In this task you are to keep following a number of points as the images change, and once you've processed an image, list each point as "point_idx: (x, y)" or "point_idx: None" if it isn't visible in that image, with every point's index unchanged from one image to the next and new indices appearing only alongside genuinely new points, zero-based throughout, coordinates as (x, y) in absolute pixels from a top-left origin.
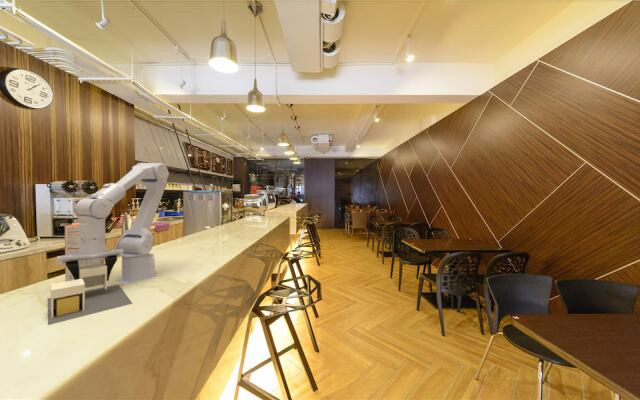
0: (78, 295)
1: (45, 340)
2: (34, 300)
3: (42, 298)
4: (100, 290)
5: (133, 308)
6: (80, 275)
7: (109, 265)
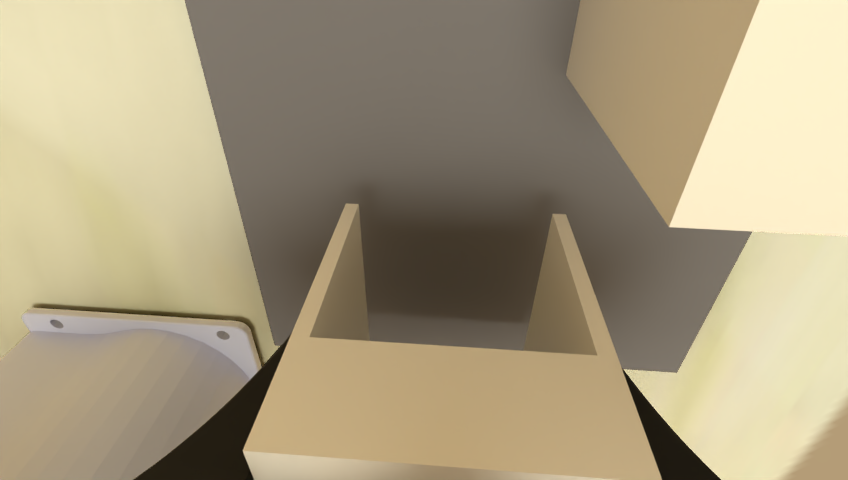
0: None
1: None
2: (713, 401)
3: (673, 404)
4: (391, 302)
5: None
6: (620, 394)
7: (213, 475)
